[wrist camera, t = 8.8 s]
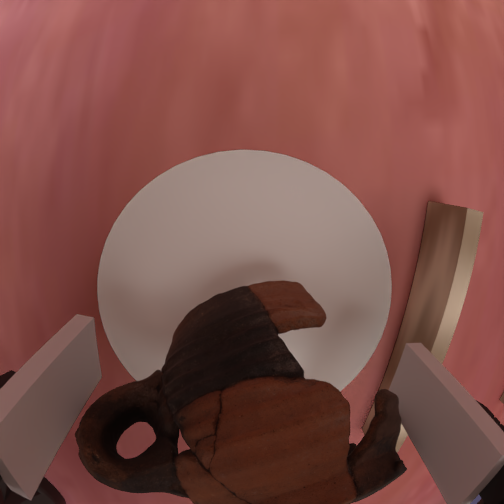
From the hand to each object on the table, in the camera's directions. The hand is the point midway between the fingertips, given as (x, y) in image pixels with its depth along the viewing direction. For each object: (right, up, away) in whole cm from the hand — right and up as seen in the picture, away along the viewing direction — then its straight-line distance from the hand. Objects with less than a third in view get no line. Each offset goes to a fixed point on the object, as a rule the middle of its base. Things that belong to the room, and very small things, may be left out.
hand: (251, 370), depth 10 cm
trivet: (0, +1, +5) cm, 5 cm away
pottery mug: (-2, 0, +3) cm, 3 cm away
